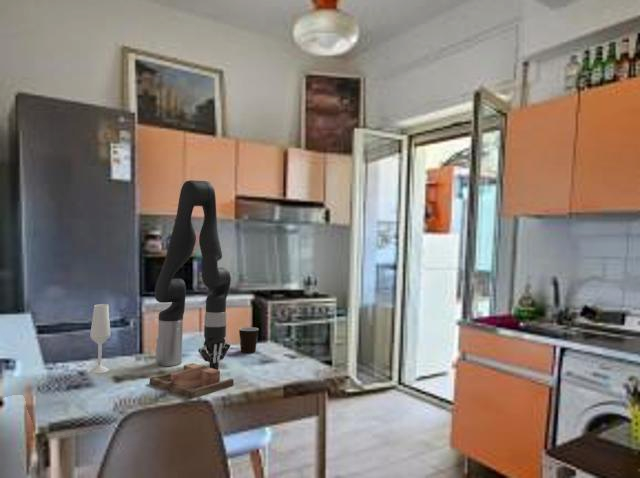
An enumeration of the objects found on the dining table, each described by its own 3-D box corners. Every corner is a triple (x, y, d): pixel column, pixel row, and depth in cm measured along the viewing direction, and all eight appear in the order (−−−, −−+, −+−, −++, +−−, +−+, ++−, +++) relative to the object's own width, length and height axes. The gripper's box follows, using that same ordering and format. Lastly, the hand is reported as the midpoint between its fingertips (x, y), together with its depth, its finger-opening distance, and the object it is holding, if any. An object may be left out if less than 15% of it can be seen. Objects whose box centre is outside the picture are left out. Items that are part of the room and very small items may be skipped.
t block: (161, 385, 154) (161, 370, 154) (192, 377, 165) (193, 363, 165) (188, 394, 146) (188, 379, 146) (219, 385, 157) (219, 370, 157)
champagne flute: (100, 367, 174) (102, 303, 174) (113, 369, 171) (115, 304, 171) (84, 371, 168) (87, 305, 168) (97, 374, 165) (99, 306, 165)
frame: (149, 383, 156) (149, 377, 156) (191, 372, 170) (192, 367, 170) (191, 398, 143) (191, 392, 143) (233, 385, 157) (233, 379, 157)
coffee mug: (254, 354, 200) (254, 331, 200) (235, 353, 201) (236, 330, 202) (262, 348, 211) (263, 326, 211) (244, 347, 213) (245, 325, 213)
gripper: (222, 320, 172) (221, 367, 172) (193, 324, 161) (191, 374, 161) (236, 323, 167) (235, 371, 167) (207, 327, 157) (205, 379, 157)
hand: (213, 372), depth 164 cm, fingers closed
